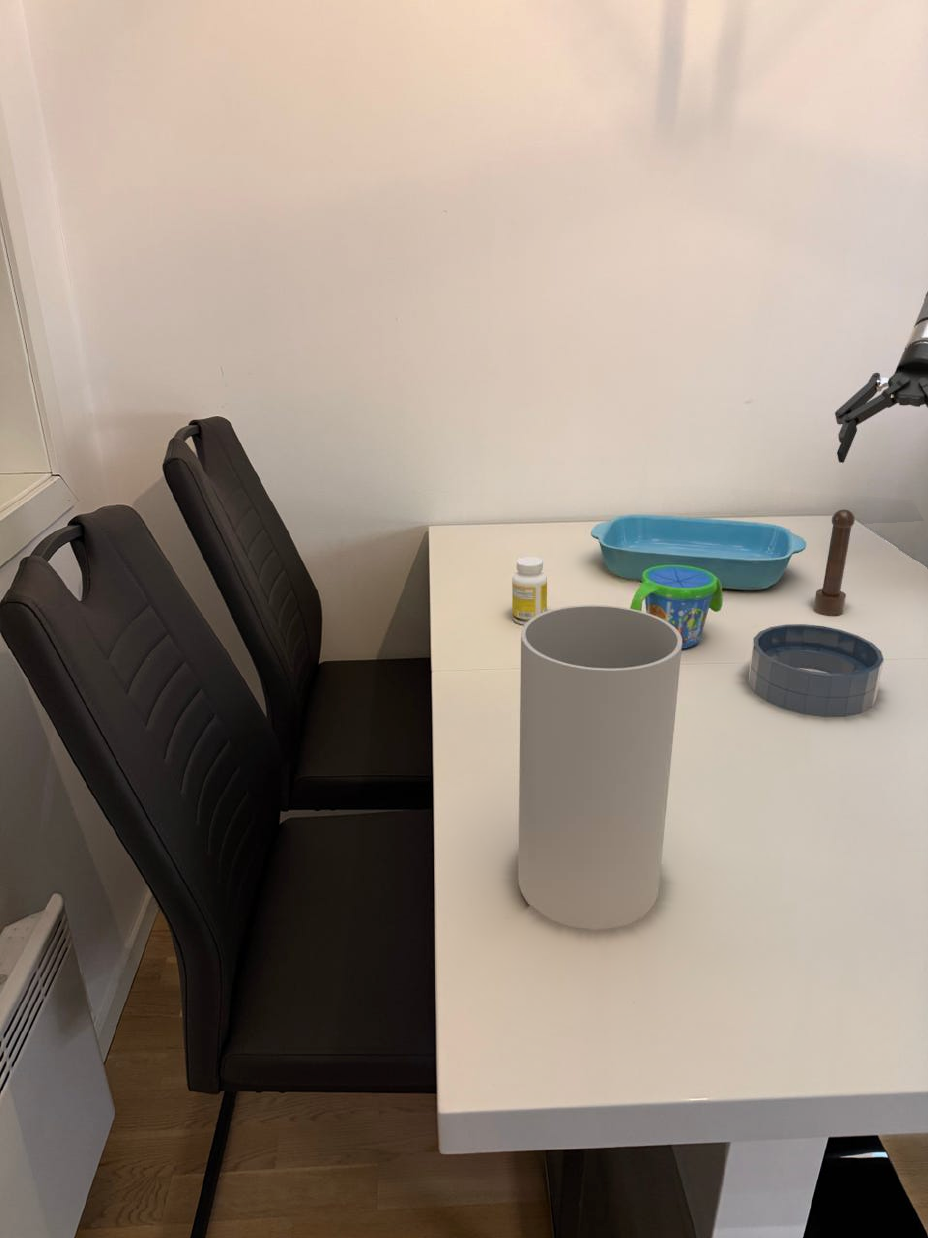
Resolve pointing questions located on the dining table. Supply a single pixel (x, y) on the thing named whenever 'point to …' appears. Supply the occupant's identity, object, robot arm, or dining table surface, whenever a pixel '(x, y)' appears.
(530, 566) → the supplement bottle
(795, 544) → the casserole dish
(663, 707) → the cylinder vase
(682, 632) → the snack cup
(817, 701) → the ring
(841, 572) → the pestle
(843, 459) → the robot arm
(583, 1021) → the dining table surface
